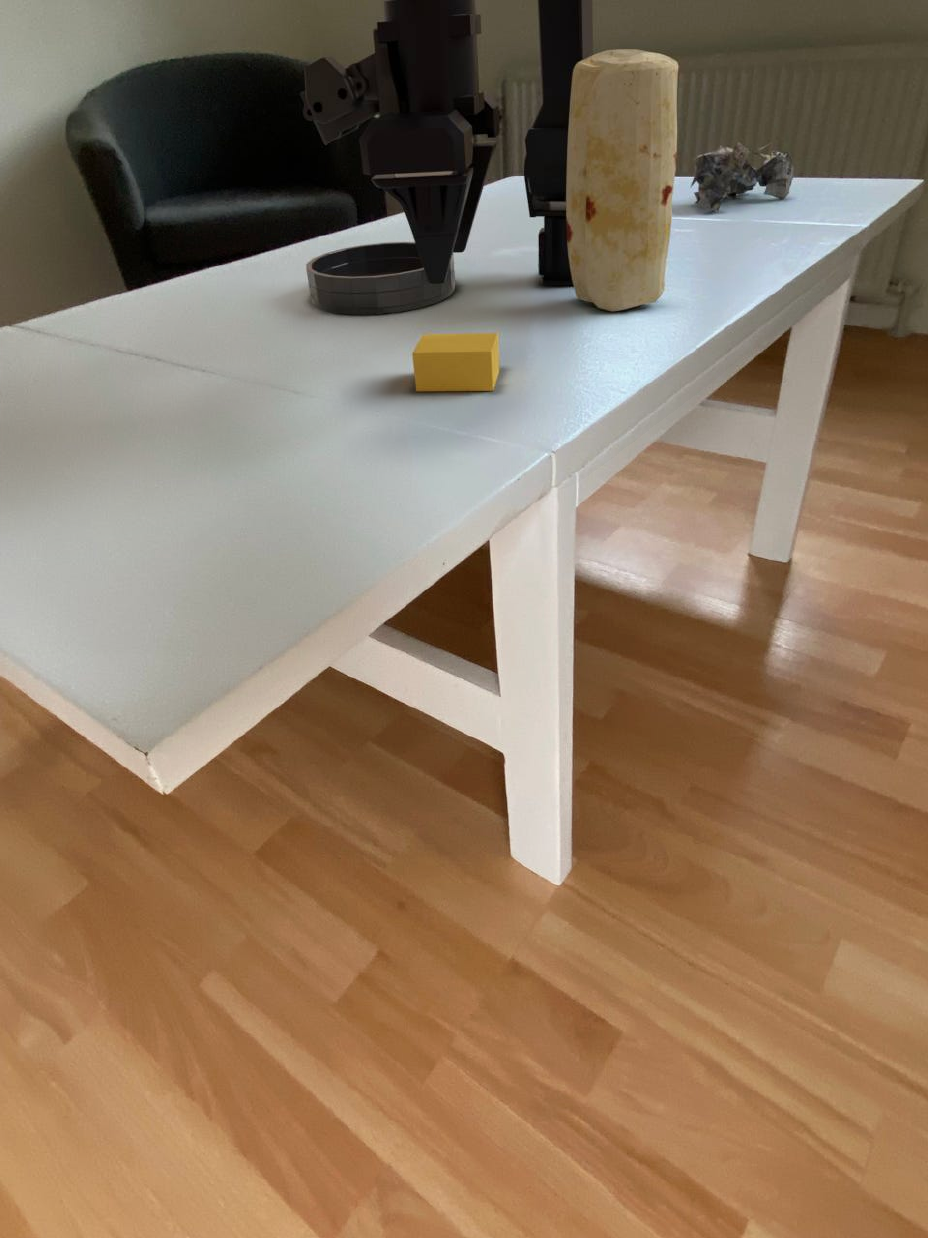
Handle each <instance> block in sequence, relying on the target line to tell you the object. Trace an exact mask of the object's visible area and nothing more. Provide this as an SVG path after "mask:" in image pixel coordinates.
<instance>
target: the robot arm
mask: <svg viewBox="0 0 928 1238" xmlns="http://www.w3.org/2000/svg"><path fill="white" fill-rule="evenodd" d="M382 8H383V9H382V11H383V21H377V22H376V27H375V28H374V29H373V31H372V32H373V33H372V34H373V44H374V52H373V53H372V54H370V55H368V56H366V57H364V58H362V59H361V60H359V61H357V62H354V63H351V64H349V65H348V67H346V68H345V67H344V66H343V65H341V63H340V62H339V61H337V59H335V58H334V57H333V56H331V55H328V56H323V57H321V58H319V59H317V60H315V61H314V62H312V63H309V64H308V65H307V66H305V67H304V68H303V70H304V89H305V90H303V91H301V92H300V93H299V95H300V97H301V99H302V102H303V108H302V115H303V117H304V119H305V120H306V121H309V122H314V125H315V127H316V129H317V131H318V133H319V135H320V137H321V140H322V143H323V144H324V145H328V144H330V143H331V142H334V141H335V140H339V139H341V138H343V137H345V136H347V135H348V134H351V133H352V132H354V131H356V130H357V129H358V128H359V125H360V124H363V123H365V122H366V121H368V120H370V119H372V118H373V117H376V116H377V115H379V116H378V117H376V118H374V119H372V120H371V122H369V124H368V126H367V127H366V129H365V130H364V132H363V133H362V135H361V136H360V137H359V147H360V156H361V163H362V173H363V175H366V176H373V177H372V178H371V181H372V183H373V184H374V185H375V187H377V188H378V189H382V190H383V191H385V192H386V193H387V194H389V196H391V197H392V198H393V199H394V200H396V201H397V202H398V203H399V204H400V206H401V207H402V210H403V213H404V216H405V218H406V221H407V223H408V226H409V229H410V232H411V236H412V238H413V242H415V244H416V247H417V250H418V253H419V256H420V259H421V262H422V265H423V268H424V271H425V274H426V276H427V279H428V282H429V283H430V284H443V283H444V282H445V280H446V277H447V273H448V269H449V265H450V261H451V258H452V254H453V255H454V254H455V253H458V254H459V253H464V252H465V250H466V248H467V244H468V241H469V238H470V235H471V230H472V228H473V224H474V220H475V217H476V213H477V210H478V206H479V204H480V201H481V197H482V195H483V194H482V193H483V191H484V187H485V184H486V180H487V178H488V174H489V170H490V167H491V163H492V160H493V157H494V154H495V151H496V149H497V145H498V144H497V141H495V140H488V141H487V140H486V141H478V136H480V135H481V136H482V135H486V136H487V139H493V138H494V139H496V138H497V137H499V135H500V133H501V132H500V131H501V130H500V104H499V103H498V102H497V101H496V100H495V99H494V98H493V97H492V96H491V95H490V94H489V93H488V92H487V91H486V90H480V78H479V58H478V57H479V56H478V36H477V35H481V34H482V18H481V14H480V13H479V14H478V13H477V12H476V11H477V10H476V0H382ZM537 13H538V34H539V35H538V37H539V55H540V56H539V57H540V76H541V77H540V78H541V80H540V81H541V96H542V98H541V100H542V101H541V106H540V108H539V110H538V112H537V115H536V117H535V119H534V121H533V123H532V126H531V128H529V129H528V130H527V132H526V135H525V138H524V145H525V156H524V157H525V158H524V163H523V180H524V187H525V194H526V202H527V208H528V214H529V216H528V217H529V218H538V217H540V218H541V217H542V218H543V227H540V229H539V232H538V235H537V236H538V238H537V239H538V240H537V241H538V242H537V243H538V275H539V276H540V277H542V279H541V283H542V286H543V285H544V286H557V285H560V286H561V285H562V286H563V285H573V280H572V275H571V270H570V263H569V257H568V243H567V219H566V183H567V149H568V129H569V113H570V99H571V87H572V76H573V70H574V67H575V65H576V64H577V63H578V62H580V61H582V60H584V59H586V58H588V57H590V56H592V55H594V31H593V30H594V29H593V28H594V25H593V24H594V23H593V22H594V21H593V19H594V18H593V15H594V14H593V0H537Z"/></svg>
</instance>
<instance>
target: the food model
mask: <svg viewBox="0 0 928 1238" xmlns="http://www.w3.org/2000/svg"><path fill="white" fill-rule="evenodd" d="M679 72H680V66H679V64H678V61H677V60H675V59H674V58H672V57H670V56H668V55H665V54H662V53H659V52H652V51H646V50H641V49H635V48H633V49H631V48H622V49H621V48H619V49H607V50H604V51H600V52H597V53H593V55H592V56H590V57H588V58H586V59H584V60H582V61H580V62H578V63H577V64H576V65H575V67H574V70H573V76H572V87H571V99H570V113H569V129H568V149H567V183H566V219H567V243H568V257H569V263H570V270H571V275H572V280H573V284H572V285H573V288H574V292H575V295H576V298H577V299H578V300H580V301H585V302H589V303H593V304H594V305H595V306H596V308H597V309H601V310H604V311H608V312H611V313H614V312H619V311H624V310H628V309H632V308H635V307H638V306H642V305H646V304H652V303H655V302H657V301H658V300H659V299H660V298H661V296H662V295H663V293H664V291H665V287H666V268H667V259H668V253H669V246H670V239H671V230H672V218H673V217H672V215H673V213H672V212H673V197H674V187H675V177H676V170H677V169H676V167H677V152H678V151H677V148H678V147H677V146H678V115H677V114H678V112H677V109H678V106H677V105H678V103H677V102H678V82H679Z"/></svg>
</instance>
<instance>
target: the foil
mask: <svg viewBox="0 0 928 1238" xmlns="http://www.w3.org/2000/svg"><path fill="white" fill-rule="evenodd" d="M772 143H773V141H772V142H769V143H768V144H765V145H763V146H761V147H760V148H758V149H757V150H759V151H762V150H763V149H765V148H766V147H768V146H769V145H770V144H772ZM728 146H730V144H729V145H728V144H727V145H726V147H725V146H724V145H723V144H721V145H720V146H718V149H714V150H712V151H710V152H707V153H703V154H698V155H697V156H695V157H693V162H694V169H695V174H694V177H693V179H692V182H691V185H690V188H689V189H691V188H692V187H694V184H695V183H697V184H698V187H697V189H698V191H693V194H694V196H695V199H696V201H695V202H694V204H696V205H698V206H700V207H701V208H702V207H703V208H705V209H707V210H709V212H708V213H707V214H713V213H715V212H719V211H720V208H721V206H722V203H723V201H724V199H725V197H726V196H727V197H728V198H730V199H733V200H736V198H737V195H743V194H744V195H745V194H746V193H747V192H750V191H753V190H754V187H756V185H757V183H758V186H759V187H765V189H764V191H763V195H766V196H772V197H774V198H777V199H779V200H785V198H787V196H788V195H789V194H790V188H791V185H792V183H793V180H794V176H795V168H794V165H793V163H792V160H791V158H790V156H789V154H788V152H786V151H783V152H780V151H775V150H772V151H771V154H764V153H760V152H753V151H749V149H748V148H746V147H745V146H744V145H743V144H742V143H741V142H740V141H738V142H736V143H735V145H734V148H731V147H728ZM749 154H754V155H757V156H759V157H762V158H766V159H765V160H763V165H762V166H760V167H759V168H756V167H754V166H752V165H751V163H750V162H749V161H748V159H747V158H748V156H749Z"/></svg>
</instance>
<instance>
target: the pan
mask: <svg viewBox="0 0 928 1238" xmlns="http://www.w3.org/2000/svg"><path fill="white" fill-rule="evenodd" d="M454 256H455V255H454V253H453V254H452V258H451V261H450V265H449V269H448V273H447V277H446V280H445V282H444V283H443V284H430V283H429V282H428V279H427V276H426V274H425V271H424V268H423V265H422V262H421V259H420V256H419V253H418V250H417V247H416V244H415V241H392V242H391V241H389V242H375V243H367V244H361V245H355V246H354V245H353V246H349V247H343V248H340V249H336V250H332V251H328V252H325V253H323V254H321V255H318V256H316V257H313V258H311V260H309V261H308V262H307V263H306V264H305V267H306V268H305V269H306V277H307V282H308V288H309V293H310V298H311V304H313V306H314V307H316V308H317V309H319V310H321V311H324V312H327V313H332V314H339V315H348V316H349V315H350V316H371V315H373V316H374V315H375V316H376V315H385V314H393V313H394V314H396V313H402V312H408V311H412V310H413V311H414V310H417V309H421V308H425V307H428V306H432V305H435V304H437V303H439V302H442V301H444V300H446V299H447V298H449V297H450V296H452V295H453V294H454V292H455V290H456V273H455V271H456V270H455V257H454Z"/></svg>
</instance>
